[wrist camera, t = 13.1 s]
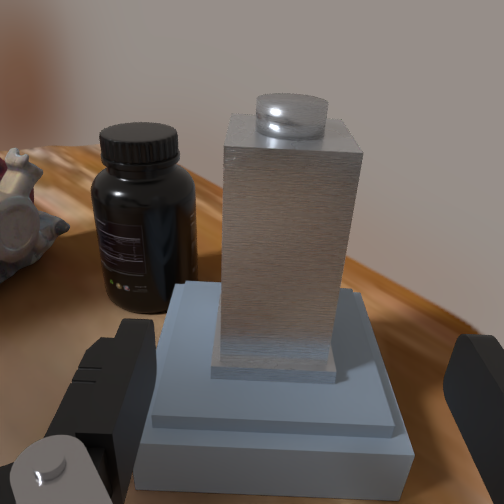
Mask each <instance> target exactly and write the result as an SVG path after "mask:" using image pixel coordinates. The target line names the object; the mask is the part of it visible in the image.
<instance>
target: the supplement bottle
mask: <svg viewBox="0 0 504 504" xmlns="http://www.w3.org/2000/svg"><path fill="white" fill-rule="evenodd" d="M99 139H100V146H101V161H102V163H103V165H105V166H106V168H105V169H103V170H102V171H101V172H100V173H99V174H98V175H97V176H96V177H95V179H94V181H93V183H92V186H91V199H92V206H93V212H94V219H95V225H96V231H97V238H98V244H99V251H100V257H101V263H102V270H103V276H104V282H105V287H106V291H107V294H108V296H109V298H110V299H111V301H112V302H113V303H115V304H116V305H117V306H119V307H121V308H123V309H125V310H128V311H131V312H136V313H158V312H163V311H167V310H168V308H169V304H170V301H171V297H172V294H173V290H174V287H175V284H185V282H186V281H198V258H197V227H196V197H195V184H194V181H193V179H192V177H191V176H190V174H189V173H188V172H187V171H186V170H185V169H184V168H182V167H181V166H179V165H177V164H176V163H177V162H178V161H179V159H180V151H179V149H178V135H177V131H176V129H174V128H173V127H171V126H168V125H165V124H160V123H149V122H133V123H125V124H118V125H113V126H109V127H108V128H104V129H103V130H102V131H101V132H100V136H99Z"/></svg>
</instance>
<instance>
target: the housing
mask: <svg viewBox="0 0 504 504" xmlns="http://www.w3.org/2000/svg"><path fill="white" fill-rule="evenodd" d="M327 110H328V102H327V101H326V100H324V99H321V98H318V97H314V96H308V95H301V94H290V93H275V94H265V95H261V96H258V97H257V105H256V115H250V114H249V115H248V114H231V117H230V122H229V126H228V130H227V134H226V139H225V143H224V164H223V166H224V168H223V221H222V277H221V294H220V299H219V306H218V314H217V322H216V329H215V337H214V344H213V352H212V360H211V379H223V380H245V381H267V382H289V383H311V384H333V385H334V383H335V377H336V367H335V362H334V357H333V352H332V347H331V338H332V332H333V326H334V320H335V315H336V309H337V303H338V297H339V292H340V286H341V280H342V274H343V268H344V263H345V257H346V251H347V245H348V240H349V234H350V228H351V222H352V216H353V210H354V205H355V199H356V193H357V187H358V182H359V176H360V170H361V164H362V159H363V151H362V150H361V148H360V147H359V145H358V144H357V142H356V141H355V139H354V138H353V136H352V135H351V133H350V131H349V130H348V128H347V127H346V125H345V124H344V122H343V121H342V119H326V118H327Z"/></svg>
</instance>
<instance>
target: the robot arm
mask: <svg viewBox="0 0 504 504" xmlns="http://www.w3.org/2000/svg"><path fill="white" fill-rule="evenodd" d="M156 375H157V359H156V345H155V332H154V323H153V320H149V319H126V318H124V319H123V320H122V321H121V324H120V326H119V328H118V331H117V333H116V335H115V338H105V337H101V338H100V339H99V340H97V341H96V342H95V343H94V344H93V345H92V346H91V347H90V348H89V349H88V350H86V352H85V354H84V356H83V358H82V360H81V362H80V364H79V366H78V370H77V371H76V373H75V375H74V377H73V379H72V383H70V385H69V387H68V389H67V391H66V393H65V395H64V397H63V399H62V402H61V404H60V406H59V408H58V410H57V412H56V414H55V416H54V418H53V420H52V422H51V424H50V426H49V428H48V430H47V433H46V434H45V436H44V438H43V439H40V440H38V441H36V442H35V443H33V444H31V445H30V446H28V447H27V448H26V449H25V450H24V451H23V452H22V453H21V454H20V455H19V456H18V457H17V459H16V460H15V462H13V463H10V464H8V465H5V466H2V467H0V504H124V502H125V498H126V494H127V491H128V487H129V483H130V479H131V475H132V472H133V468H134V464H135V460H136V456H137V453H138V449H139V445H140V441H141V437H142V434H143V430H144V426H145V422H146V419H147V415H148V411H149V407H150V403H151V400H152V396H153V392H154V388H155V383H156ZM443 391H444V396H445V400H446V402H447V404H448V407H449V409H450V411H451V413H452V415H453V417H454V419H455V422H456V424H457V426H458V428H459V430H460V432H461V435H462V437H463V439H464V441H465V443H466V445H467V447H468V450H469V452H470V454H471V456H472V458H473V460H474V463H475V465H476V467H477V469H478V471H479V473H480V475H481V478H482V480H483V482H484V484H485V486H486V488H487V491H488V493H489V495H490V497H491V499H492V501H493V503H494V504H504V349H503V348H502V347H501V345H500V344H499V342H498V341H497V339H496V338H495V337H494V336H492V335H475V334H461V335H460V336H459V337H458V338H457V341H456V343H455V346H454V349H453V352H452V355H451V358H450V361H449V364H448V367H447V370H446V373H445V376H444V380H443Z"/></svg>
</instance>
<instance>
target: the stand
mask: <svg viewBox="0 0 504 504" xmlns="http://www.w3.org/2000/svg"><path fill="white" fill-rule="evenodd" d="M220 294H221V282H201V281H186V282H185V284H175V287H174V290H173V294H172V297H171V301H170V304H169V308H168V311H167V315H166V318H165V322H164V325H163V328H162V332H161V335H160V339H159V342H158V346H157V349H156V359H157V375H156V383H155V388H154V392H153V396H152V400H151V403H150V407H149V411H148V415H147V419H146V422H145V426H144V430H143V434H142V437H141V441H140V445H139V449H138V453H137V456H136V460H135V464H134V468H133V475H134V483H135V490H156V491H179V492H202V493H226V494H249V495H272V496H295V497H318V498H342V499H365V500H388V501H399V500H400V497H401V494H402V491H403V488H404V485H405V483H406V480H407V477H408V474H409V471H410V468H411V465H412V462H413V459H414V457H415V454H414V451H413V448H412V445H411V443H410V440H409V437H408V434H407V431H406V428H405V425H404V422H403V419H402V416H401V413H400V410H399V407H398V404H397V401H396V398H395V395H394V392H393V389H392V386H391V383H390V380H389V377H388V374H387V371H386V368H385V365H384V362H383V359H382V356H381V353H380V350H379V347H378V344H377V341H376V338H375V335H374V332H373V329H372V326H371V323H370V320H369V317H368V314H367V311H366V308H365V305H364V302H363V299H362V296H361V293H357V292H353V290H352V289H346V288H340V292H339V297H338V303H337V309H336V315H335V320H334V326H333V332H332V338H331V347H332V352H333V357H334V362H335V367H336V377H335V383H334V385H333V384H311V383H289V382H267V381H245V380H223V379H211V360H212V352H213V344H214V337H215V329H216V322H217V314H218V306H219V299H220Z"/></svg>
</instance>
